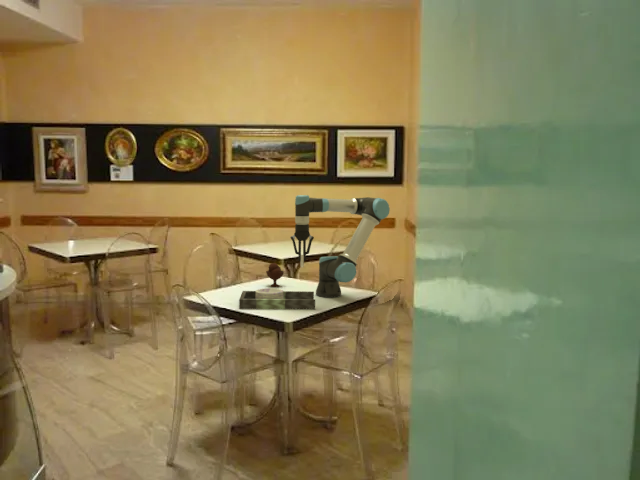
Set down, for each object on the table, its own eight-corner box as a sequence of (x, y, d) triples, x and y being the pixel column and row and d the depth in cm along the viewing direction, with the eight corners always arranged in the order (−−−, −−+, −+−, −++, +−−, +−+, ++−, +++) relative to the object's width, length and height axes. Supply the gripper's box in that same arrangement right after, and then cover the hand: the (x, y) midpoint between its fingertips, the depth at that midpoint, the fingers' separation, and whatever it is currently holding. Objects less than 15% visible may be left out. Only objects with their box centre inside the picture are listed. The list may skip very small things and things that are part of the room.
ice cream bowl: (283, 288, 358) (283, 264, 356) (265, 287, 358) (265, 263, 356) (284, 284, 369) (284, 261, 367) (266, 284, 369) (267, 261, 367)
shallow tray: (313, 300, 326) (313, 291, 325) (315, 309, 304) (315, 300, 304) (242, 299, 324) (242, 290, 323) (239, 308, 302) (239, 299, 302)
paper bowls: (265, 300, 324) (265, 286, 323) (288, 303, 316) (288, 289, 316) (249, 305, 310) (249, 291, 309) (273, 309, 303) (273, 294, 302)
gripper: (290, 224, 307) (290, 268, 310) (314, 224, 308) (314, 267, 311) (289, 223, 314) (289, 265, 317) (313, 223, 315) (313, 265, 318)
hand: (301, 266), depth 314 cm, fingers closed
